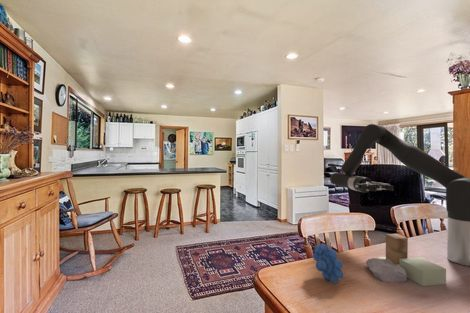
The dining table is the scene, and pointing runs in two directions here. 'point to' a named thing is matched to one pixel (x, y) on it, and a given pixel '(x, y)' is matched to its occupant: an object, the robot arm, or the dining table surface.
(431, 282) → the green stand
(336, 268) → the grapes
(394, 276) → the stone block
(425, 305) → the dining table surface
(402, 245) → the walnut block
